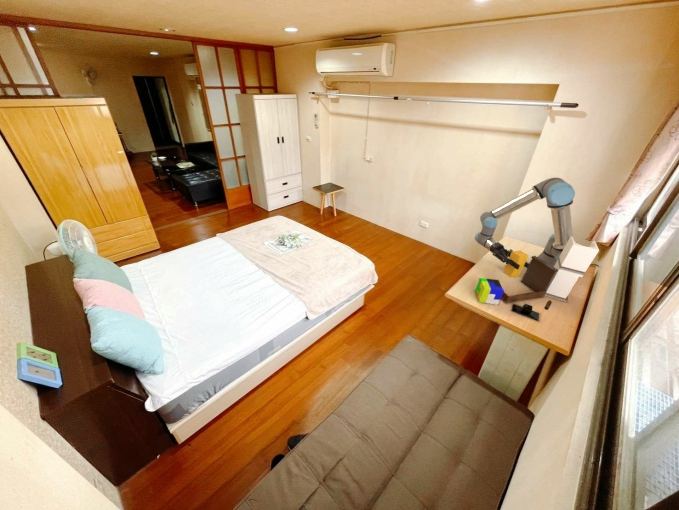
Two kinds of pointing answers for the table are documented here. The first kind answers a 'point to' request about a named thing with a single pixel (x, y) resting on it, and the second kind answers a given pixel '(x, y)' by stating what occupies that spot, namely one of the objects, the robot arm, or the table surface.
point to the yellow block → (519, 259)
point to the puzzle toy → (489, 291)
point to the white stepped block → (570, 268)
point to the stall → (534, 280)
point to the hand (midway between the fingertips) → (523, 266)
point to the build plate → (526, 311)
